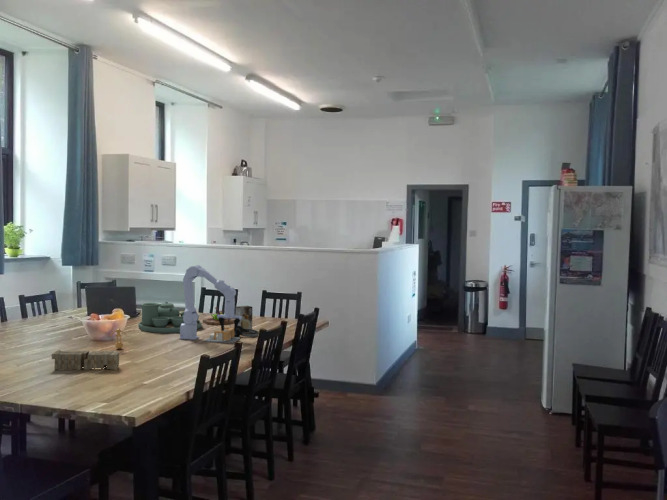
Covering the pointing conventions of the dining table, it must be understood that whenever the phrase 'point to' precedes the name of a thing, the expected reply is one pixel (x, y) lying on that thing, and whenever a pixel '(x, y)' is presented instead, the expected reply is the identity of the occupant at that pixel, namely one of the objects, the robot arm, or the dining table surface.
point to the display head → (221, 338)
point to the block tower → (85, 359)
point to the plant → (216, 319)
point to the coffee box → (245, 316)
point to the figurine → (118, 344)
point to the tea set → (162, 318)
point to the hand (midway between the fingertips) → (229, 330)
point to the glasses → (225, 333)
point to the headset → (240, 331)
